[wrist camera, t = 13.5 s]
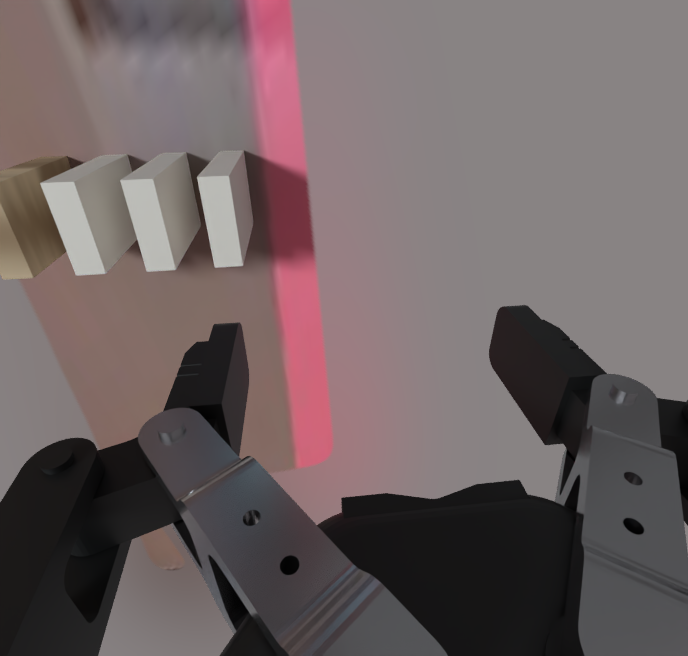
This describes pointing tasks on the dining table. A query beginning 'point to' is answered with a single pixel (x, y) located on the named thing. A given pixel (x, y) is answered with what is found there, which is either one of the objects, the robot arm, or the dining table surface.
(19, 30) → the dining table surface
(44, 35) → the dining table surface
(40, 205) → the domino
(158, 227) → the domino
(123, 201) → the domino
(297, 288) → the dining table surface
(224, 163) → the domino
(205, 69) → the dining table surface
